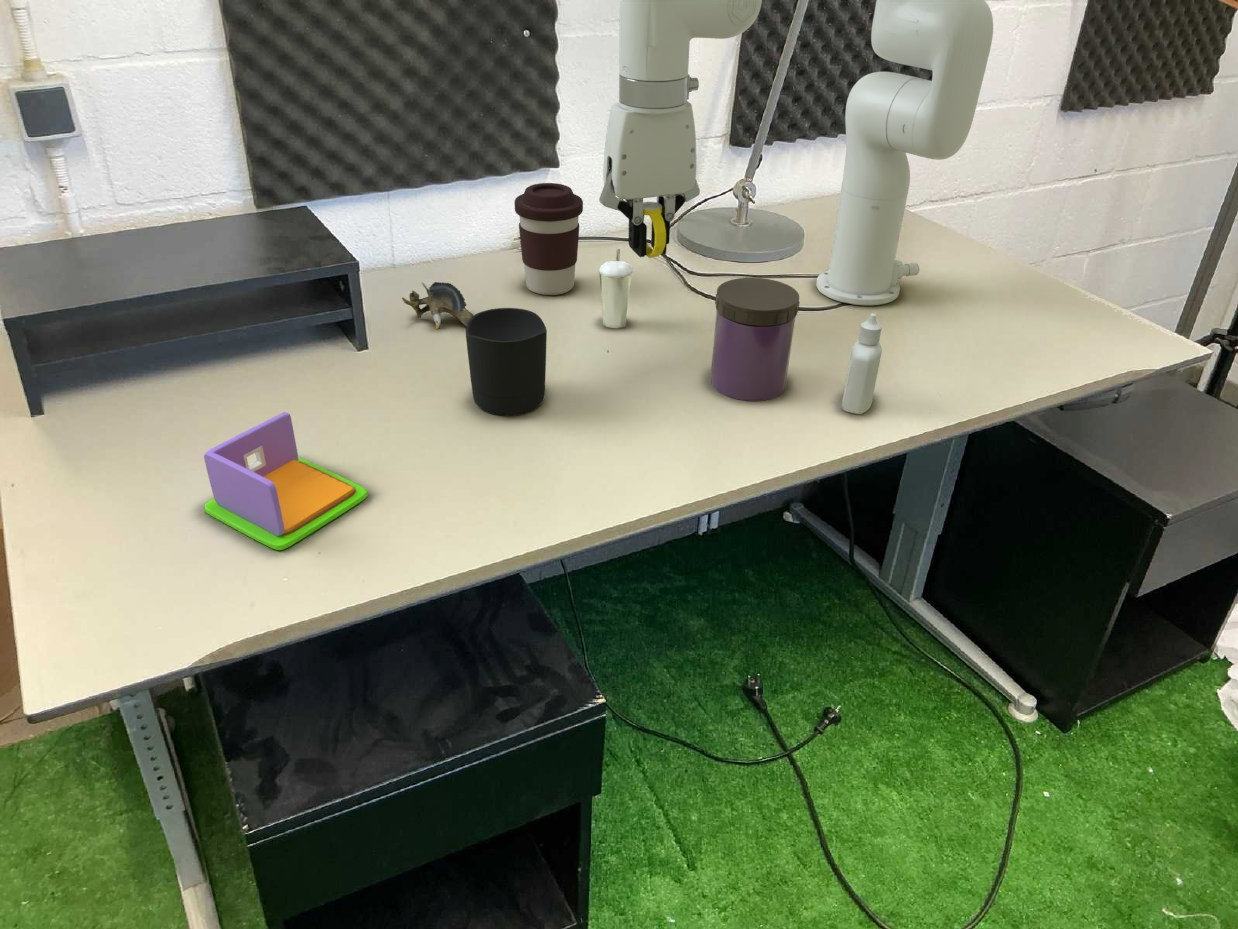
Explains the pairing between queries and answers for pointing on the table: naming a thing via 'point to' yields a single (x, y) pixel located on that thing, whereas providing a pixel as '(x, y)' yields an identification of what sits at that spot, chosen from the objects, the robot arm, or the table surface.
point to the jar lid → (757, 301)
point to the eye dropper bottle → (863, 368)
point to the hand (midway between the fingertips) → (648, 250)
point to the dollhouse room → (274, 486)
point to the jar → (750, 359)
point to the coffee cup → (549, 236)
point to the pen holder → (507, 360)
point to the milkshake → (615, 291)
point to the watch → (655, 228)
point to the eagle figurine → (440, 302)
